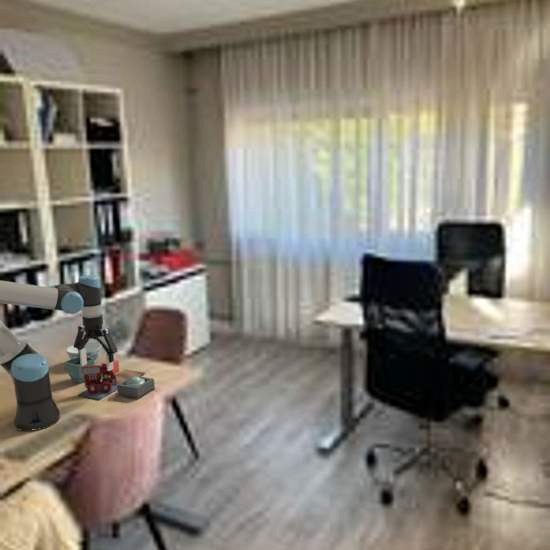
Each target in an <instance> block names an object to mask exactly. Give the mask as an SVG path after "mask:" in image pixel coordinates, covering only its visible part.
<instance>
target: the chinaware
mask: <svg viewBox="0 0 550 550" xmlns="http://www.w3.org/2000/svg"><path fill="white" fill-rule="evenodd" d="M84 347H85V349H86V357H89V358H93V359H94V362H95V361H96V360H97V359H98V358H99V356H100V354H101V350H102V345H101V344H100V342H98V341H97V342H95V341H88V342H87V343H86V345H85V346H84ZM83 349H84V348H83ZM66 353H67V355H68V357H69V358H70V359H69V360H71V359H73V358H76V357H79V353H78V349H77V348H74V344H73V345H70V346H69V347H67V348H66Z"/></svg>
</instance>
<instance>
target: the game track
mask: <svg viewBox="0 0 550 550" xmlns="http://www.w3.org/2000/svg"><path fill="white" fill-rule="evenodd" d="M144 374H145V375H146V372H144V371H136V370H132V369H131V370H130V369H124V370H121V371H119V372H117V373H115V375H116V381H117V383H116V385H115V386H111V390H110V391H109V392H103V391H102V390H101V387H98V391H97V392H96V393H94V394H91V393H89V392H88V391H87V389H86V390H84V391H82V392H80V393H78V394H77V397H80V396H83V397H82V398H85V397H86V398H87V399H91V400H97V401H100V400H103V399H105V398H106V397H108V396H110V395H112V394H113V393H115V392H116V391H117V392H118V390H117V384H119V383H121V382H123V381H125V380H126V379H128V378H130V377H132V376H140V377H143V376H145V375H144ZM142 375H143V376H142Z"/></svg>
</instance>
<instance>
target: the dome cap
mask: <svg viewBox="0 0 550 550" xmlns="http://www.w3.org/2000/svg"><path fill="white" fill-rule="evenodd" d="M143 383H145V380H144V379H141V378H139V377H132V378H131V379H130V380H129V381H127V382H126V384H127V385H129V386H135V387H138V386H139V385H141V384H143Z"/></svg>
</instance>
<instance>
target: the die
mask: <svg viewBox="0 0 550 550" xmlns="http://www.w3.org/2000/svg"><path fill="white" fill-rule="evenodd" d="M103 364H107V363H106V360H105V361H103V362H101V363H100V365H101V366H103ZM112 371H113V372H114V374H115V375H116V374H118V373H119V372H120V366H119V360H117V359H114V361H113V369H112ZM103 373H104V372H103ZM103 373H102V374H103ZM102 374H101V375H102Z"/></svg>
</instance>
